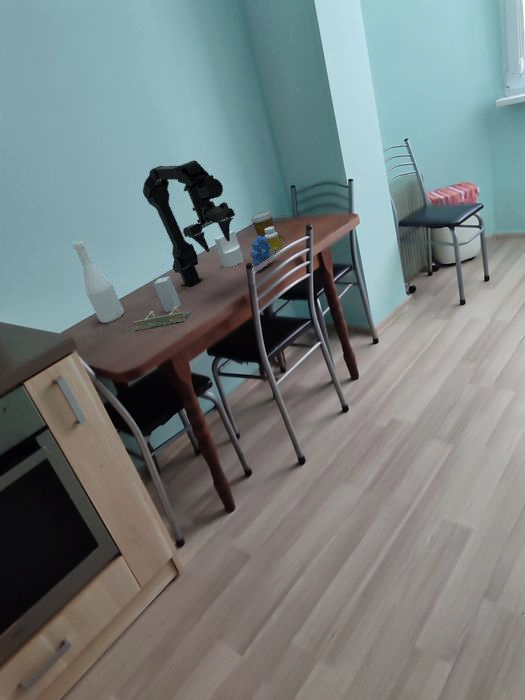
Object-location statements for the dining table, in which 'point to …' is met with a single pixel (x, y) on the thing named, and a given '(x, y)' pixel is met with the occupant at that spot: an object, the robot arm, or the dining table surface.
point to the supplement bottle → (272, 239)
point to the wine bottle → (98, 288)
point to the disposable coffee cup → (262, 222)
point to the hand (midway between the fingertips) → (218, 246)
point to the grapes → (260, 250)
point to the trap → (161, 319)
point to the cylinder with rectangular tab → (229, 250)
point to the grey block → (167, 293)
